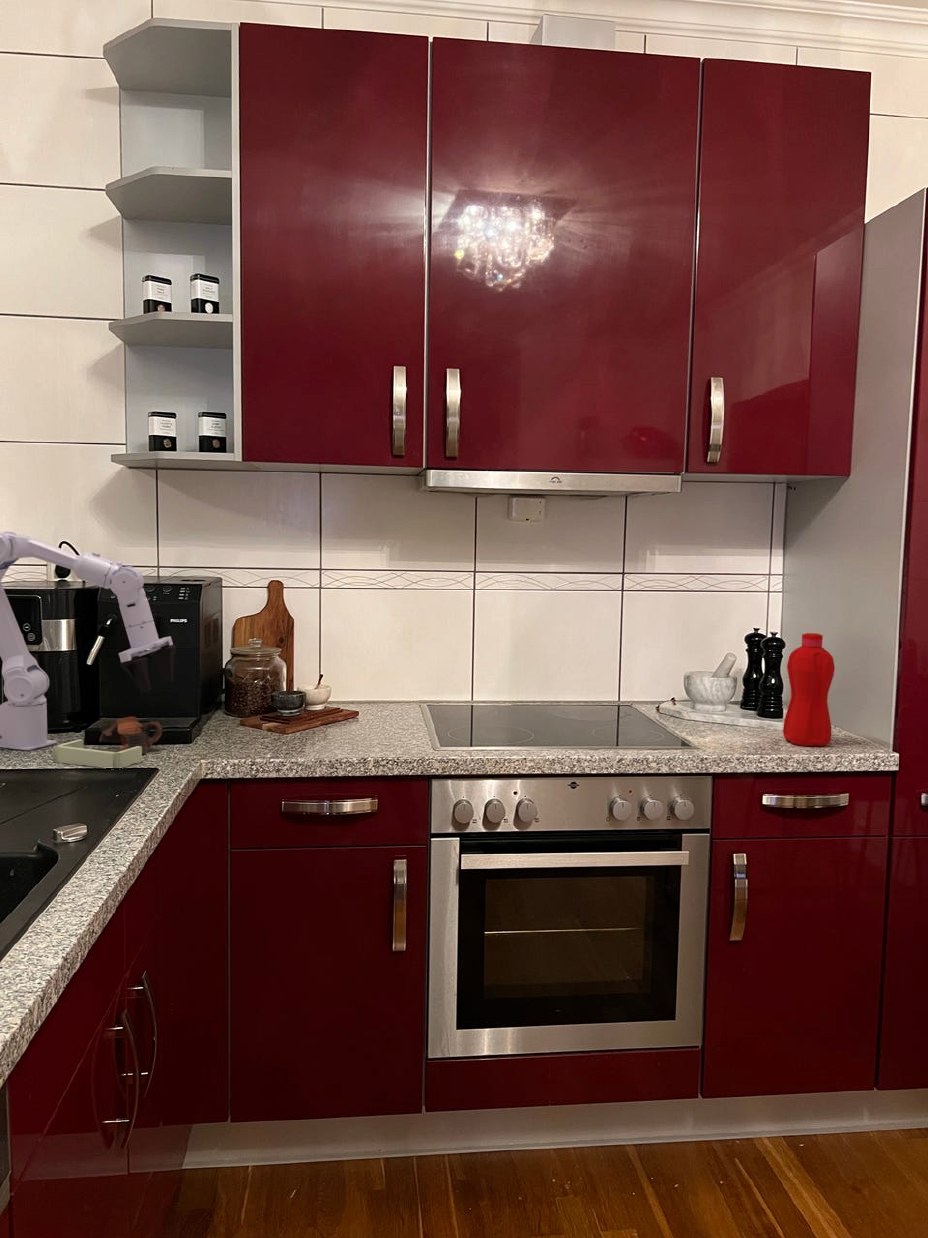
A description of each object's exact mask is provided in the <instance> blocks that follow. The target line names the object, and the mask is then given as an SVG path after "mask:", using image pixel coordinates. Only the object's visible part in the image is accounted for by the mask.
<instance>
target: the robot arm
mask: <svg viewBox="0 0 928 1238" xmlns="http://www.w3.org/2000/svg"><path fill="white" fill-rule="evenodd" d="M23 558H24V559H25V558H35V559H39V560H41V561H44V562H48V563H50V564H54V565H57V566H59V567H63V568H66V569H68V570H72V572H73V573H74V575H75V577H76V579H79V580H81V581H84V582H87V583H89V584H92V585H95V586H98V587H101V588H104V589H106V590H108V589H110V591H112V593H113V594H114V595H116V597H117V601H118V604H119V605H118V606H119V610H120V614H121V617H122V620H123V624H124V627H125V631H126V634H127V638H128V641H129V645H130V648H128V649H126V650H124V651H122V652H119V653H118V656H119V659H120V667H121V669H123V670H124V671H125V672H126V673H127V674H128V675H129V676H130V677H131V679H132V680H133V682H134V684H135V685H136V687H137V688H138V690H139V691H140V693H141V694H142V693H147V692H151V690H152V688H151V687H152V685H151V682H150V675H149V669H148V668H149V667H148V662H149V658H148V657H143V658H142V656H144V655H147V654H149V655H150V657H151V658H152V659H153V661H154V662H155V665H156V666H157V668H158V672H159V675H160V677H161V680H162V682H163V683H164V684H167V683H172V682H174V663H175V656H176V652H177V647H176V645H174V643H173V640H172V636H165V637H162V638H159V634H158V631H157V628H156V625H155V624H156V623H155V621H154V618H153V614H152V611H151V607H150V606H151V605H150V604H149V600H148V599H147V596H146V595H147V594H146V591H145V588H144V584H145V578H144V576H143V574H142V572H141V571H140V570H139V569H137V568H135V567H134V566H131V565H127V566H123V565H124V564H123V562H122V561H120V560H119V561H116V562H115V561H112V560H109V559H107V558H104V557H103V556H101V553H99V552H96V551H92V552H87V551H86V552H85V553H82V554H80V555H78V554H75V553H73V552H71V551H68V550H65V549H63V548H60V547H59V546H55V545H53V544H50V543H48V542H45V541H43V540H41V539H38V538H35V537H31V536H28V535H24V534H17V533H15V532H12V531H2V532H1V531H0V659H1V661H2V668H1V676H2V678H3V681H4V682H3V683H4V685H3V694H4V696H5V698H7V701H4V702H3V703H1V704H0V748H2V749H3V748H4V749H12V750H13V749H14V750H21V751H32V750H36V749H40V748H43V747H47V746H50V745H54V744H58V741H57V740H53V739H48V715H47V714H48V709H47V707H48V706H47V705H48V703H47V698H46V697H45V693H46V692H47V691H48V689H49V687H50V678H49V676H48V674H47V673H46V672H45V671H44V670H43V669H42V668H41V667H40V666H39V664H38V661H37V659H36V658H35V657H34V656H33V655H32V654H31V653H30V651H29V649H28V647H27V644H26V641H25V639H24V635H23V634H22V631H21V629H20V626H19V624H18V621H17V619H16V617H15V614H14V611H13V609H12V606H11V604H10V601H9V598H8V596H7V594H6V591H5V589H4V586H3V584H2V580H3V578H4V577H5V574H6V573H7V571H8V569H10V567H11V566H12V565H14V564H15V563H16V562H17V561H18V560H20V559H23ZM148 649H149V650H148Z"/></svg>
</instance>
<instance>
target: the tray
mask: <svg viewBox="0 0 928 1238" xmlns="http://www.w3.org/2000/svg"><path fill="white" fill-rule="evenodd" d="M52 756H53V757H52V758H53V761H52V762H54V763H58V764H59V763H60V764H61V763H62V764H66V763H68V765H74V764H78V765H77V766H82V765H94V766H101V767H113V768H119V767H125V766H128V767H130V766H129V765H131V764H134V763H137V764H139V763H138V762H140V763H141V761H142V762H143V754H142V746H136V747H133V748H130V749H126V750H123V751H120V752H119V751H117V752H115V751H106V750H100V749H99V750H98V749H89V748H84V739H80V738H79V739H77V740H75V739H74V740H72V741H69V742H64V743H62V744H58V745H54V746H52ZM134 765H135V764H134ZM131 766H132V765H131ZM125 768H126V767H125Z"/></svg>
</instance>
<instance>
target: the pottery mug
mask: <svg viewBox="0 0 928 1238" xmlns="http://www.w3.org/2000/svg"><path fill="white" fill-rule="evenodd" d="M153 729H154V730H155V731H154V734H153V735H152V736H150V735H149V734H150V732H151V730H153ZM100 731H101V734H100V737H99V742H100V743H101V742H104V743H116V744H117V743H118V744H119V743H121V746H120V747H118V748H117V750H118V751H117V752H120V751H123V750H126V749H130V748H133V747H136V746H142V755H143V754H144V755H147V754H148V749H151V747H152V745H153V744H154V743H156V742H158V741H159V739H160V738H161V736H162V734H163V728H162V726H161V724H160V722H157V721H149V722H145V723H141V722H139V721H138V717H137V716H127V717H122V718H118V719H114V720H112V721H110V722H109V721H108V722H107V723H105V724H104V725H102V726H101V727H100ZM146 753H147V754H146Z"/></svg>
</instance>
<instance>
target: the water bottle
mask: <svg viewBox="0 0 928 1238" xmlns="http://www.w3.org/2000/svg"><path fill="white" fill-rule="evenodd" d="M823 637H824V636H823V634H820V633H818V632H816V633H815V632H809V633H808V632H806V633H803V634H801V646H799V647H797V648H795V649H794V650H792V651H791V653H790V654H789V656H788V658H787V659H788V660H787V665H786V670H787V674H788V680H789V687H790V700H789V703H788V706H787V711H786V713H785V717H784V721H783V727H782V728H783V729H782V733H783V734H782V735H783V738H784V739H785V740H786V741H787V740H788V741H787V742H789V741H790V743H791V744H793V745H796V746H799V747H800V746H801V747H826V746H828V745H829V744H830V742H831V739H832V721H831V716H830V709H829V704H828V697H829V691H830V688H831V685H832V682H833V679H834V675H835V671H836V670H835V669H836V666H835V662H834V661H835V660H834V657H833V656H832V655H831V653H830V652H829V651H828V650H826V649H825V648H823V639H824V638H823Z"/></svg>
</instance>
